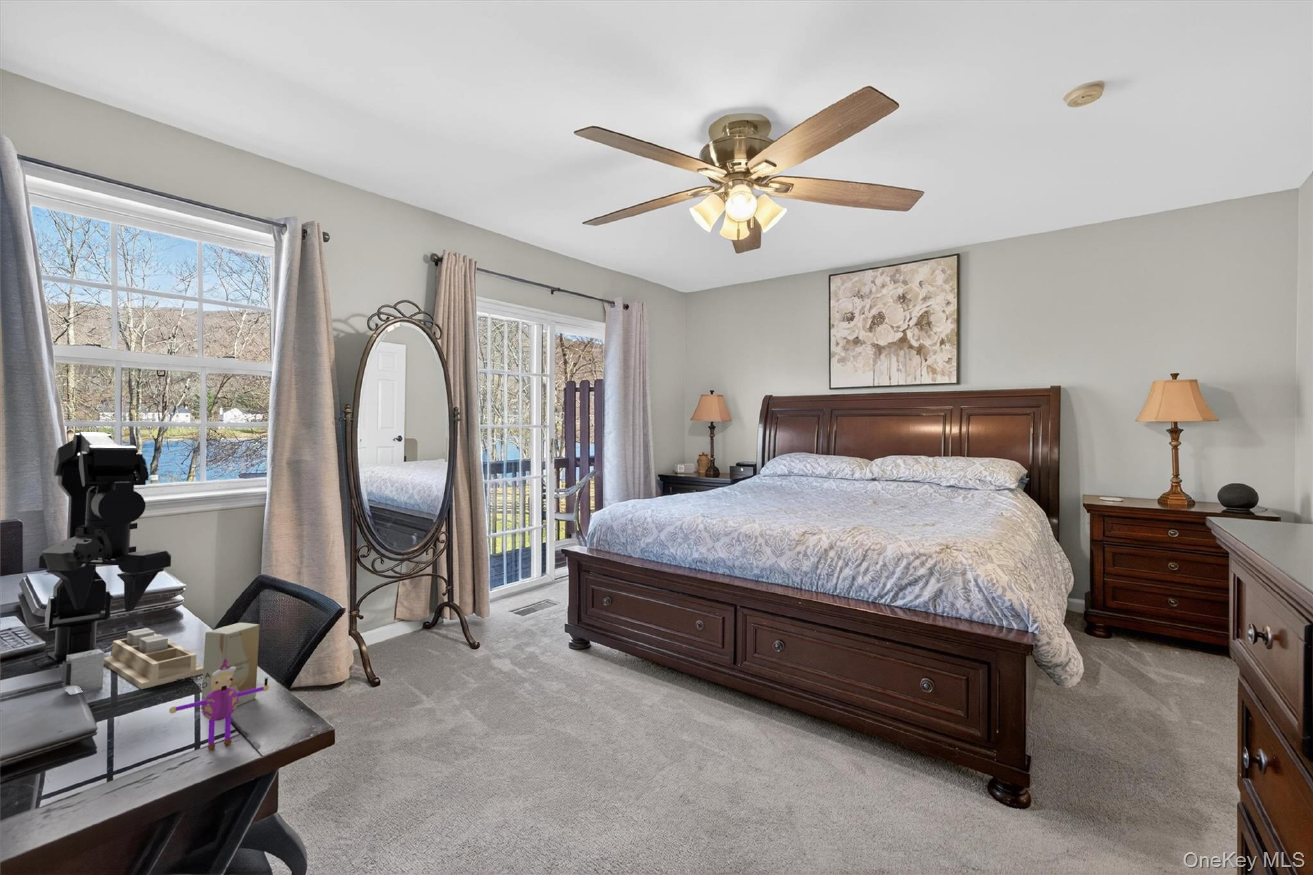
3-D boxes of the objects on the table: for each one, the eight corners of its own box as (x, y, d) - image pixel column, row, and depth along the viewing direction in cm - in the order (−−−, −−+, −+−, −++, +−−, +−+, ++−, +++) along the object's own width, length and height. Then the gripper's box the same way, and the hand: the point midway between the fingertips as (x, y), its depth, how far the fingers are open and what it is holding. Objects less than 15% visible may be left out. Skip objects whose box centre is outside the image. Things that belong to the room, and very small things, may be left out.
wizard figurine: (168, 764, 76) (172, 671, 76) (165, 755, 78) (168, 665, 78) (269, 735, 84) (272, 651, 84) (264, 728, 86) (267, 646, 86)
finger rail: (102, 662, 111) (103, 633, 111) (161, 650, 118) (162, 622, 118) (141, 689, 99) (143, 656, 99) (204, 673, 107) (206, 642, 107)
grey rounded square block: (65, 696, 96) (67, 659, 96) (60, 692, 97) (62, 656, 97) (102, 687, 99) (104, 652, 100) (97, 683, 101) (98, 648, 101)
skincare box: (222, 714, 90) (225, 634, 91) (199, 711, 91) (202, 632, 92) (258, 697, 97) (261, 622, 97) (236, 694, 98) (239, 621, 98)
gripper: (2, 522, 93) (-3, 620, 92) (111, 526, 91) (107, 627, 91) (77, 514, 104) (73, 602, 103) (175, 518, 102) (171, 607, 102)
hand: (104, 609), depth 100 cm, fingers open, 9 cm apart
